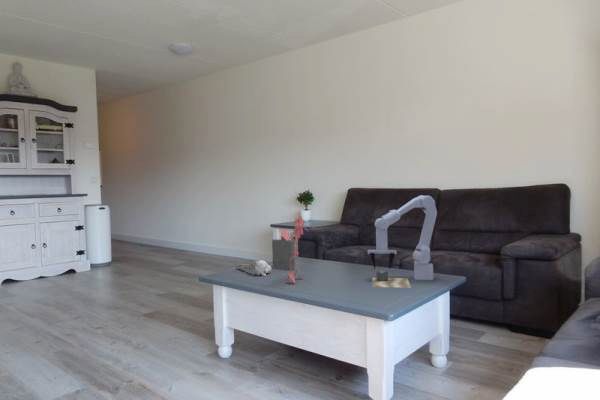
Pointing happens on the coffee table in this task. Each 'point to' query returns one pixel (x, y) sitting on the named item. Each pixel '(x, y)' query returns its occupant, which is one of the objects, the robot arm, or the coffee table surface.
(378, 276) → the ring
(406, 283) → the board
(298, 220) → the figurine
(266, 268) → the white lumpy shape
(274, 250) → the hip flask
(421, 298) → the coffee table surface
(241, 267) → the wrench
